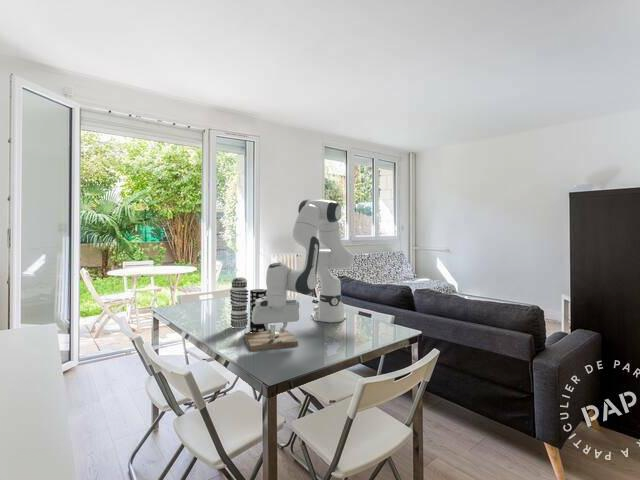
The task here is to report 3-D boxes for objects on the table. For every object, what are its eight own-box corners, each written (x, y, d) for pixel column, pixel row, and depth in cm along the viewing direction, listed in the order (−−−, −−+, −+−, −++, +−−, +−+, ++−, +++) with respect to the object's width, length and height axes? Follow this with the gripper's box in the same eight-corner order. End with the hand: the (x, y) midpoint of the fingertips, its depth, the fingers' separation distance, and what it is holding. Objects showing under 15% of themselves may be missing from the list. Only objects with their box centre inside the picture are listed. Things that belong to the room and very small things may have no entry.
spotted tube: (270, 330, 173) (270, 289, 173) (262, 334, 165) (262, 292, 165) (255, 328, 176) (255, 288, 176) (246, 332, 168) (246, 291, 168)
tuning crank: (270, 334, 158) (270, 320, 158) (279, 334, 158) (279, 320, 158) (266, 340, 148) (266, 326, 148) (277, 340, 148) (277, 326, 148)
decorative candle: (230, 330, 173) (230, 279, 172) (229, 325, 182) (229, 277, 181) (248, 328, 175) (249, 278, 175) (247, 324, 184) (247, 276, 184)
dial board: (244, 337, 160) (244, 332, 160) (286, 333, 167) (286, 329, 167) (250, 350, 143) (250, 345, 143) (297, 345, 149) (297, 340, 149)
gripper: (297, 298, 157) (296, 329, 157) (251, 300, 150) (250, 332, 150) (301, 300, 151) (300, 332, 151) (253, 303, 144) (253, 336, 144)
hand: (275, 332), depth 150 cm, fingers open, 5 cm apart
